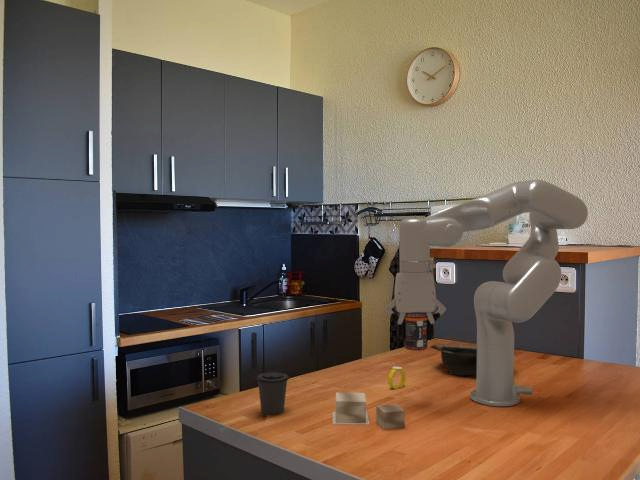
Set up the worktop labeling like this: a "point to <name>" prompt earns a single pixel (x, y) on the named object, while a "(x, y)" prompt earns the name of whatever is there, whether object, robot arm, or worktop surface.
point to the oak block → (390, 416)
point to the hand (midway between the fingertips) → (415, 338)
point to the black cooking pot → (459, 359)
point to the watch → (392, 376)
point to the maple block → (350, 408)
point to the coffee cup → (272, 392)
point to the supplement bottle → (415, 331)
